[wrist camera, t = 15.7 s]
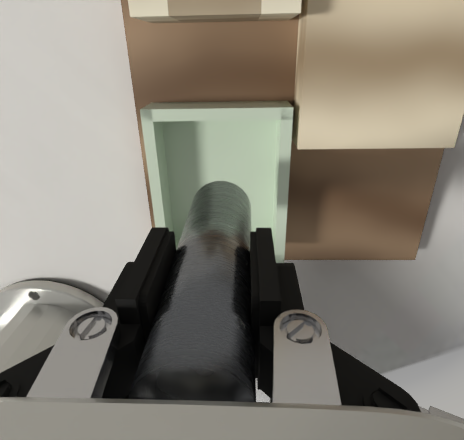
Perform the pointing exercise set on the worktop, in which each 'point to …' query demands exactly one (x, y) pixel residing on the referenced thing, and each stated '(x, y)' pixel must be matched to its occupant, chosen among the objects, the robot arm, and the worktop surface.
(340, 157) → the board
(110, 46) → the worktop surface
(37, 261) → the worktop surface
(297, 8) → the holder
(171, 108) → the tray
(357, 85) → the beige cardboard box
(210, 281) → the dowel
